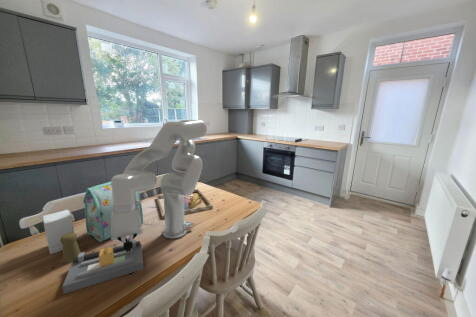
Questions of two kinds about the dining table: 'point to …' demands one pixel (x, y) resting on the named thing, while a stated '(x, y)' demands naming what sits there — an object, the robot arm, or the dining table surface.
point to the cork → (69, 247)
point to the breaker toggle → (106, 256)
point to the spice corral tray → (188, 209)
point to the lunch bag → (101, 210)
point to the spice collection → (191, 201)
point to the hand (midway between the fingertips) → (128, 249)
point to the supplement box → (57, 229)
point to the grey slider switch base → (90, 272)
